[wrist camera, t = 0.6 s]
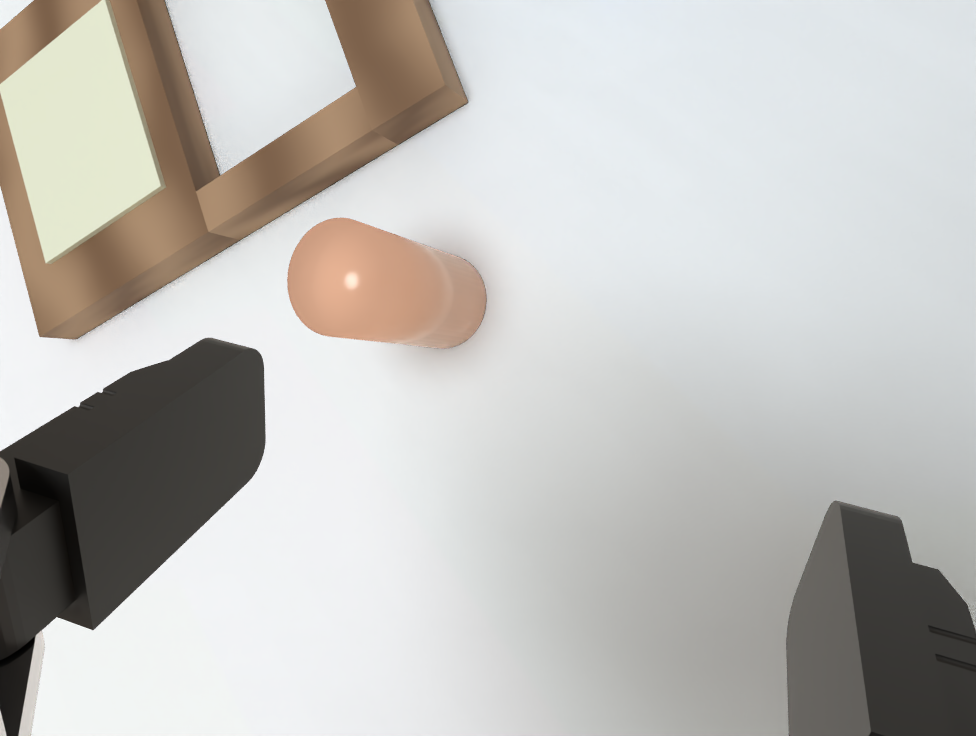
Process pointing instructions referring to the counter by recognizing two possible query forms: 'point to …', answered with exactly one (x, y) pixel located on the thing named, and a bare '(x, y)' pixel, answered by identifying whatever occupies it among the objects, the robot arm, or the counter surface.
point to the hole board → (175, 145)
